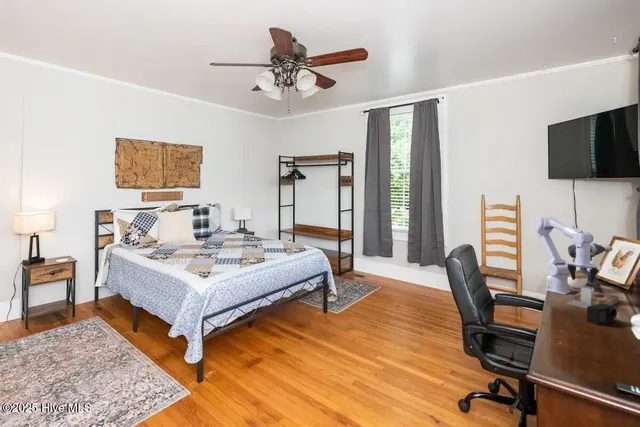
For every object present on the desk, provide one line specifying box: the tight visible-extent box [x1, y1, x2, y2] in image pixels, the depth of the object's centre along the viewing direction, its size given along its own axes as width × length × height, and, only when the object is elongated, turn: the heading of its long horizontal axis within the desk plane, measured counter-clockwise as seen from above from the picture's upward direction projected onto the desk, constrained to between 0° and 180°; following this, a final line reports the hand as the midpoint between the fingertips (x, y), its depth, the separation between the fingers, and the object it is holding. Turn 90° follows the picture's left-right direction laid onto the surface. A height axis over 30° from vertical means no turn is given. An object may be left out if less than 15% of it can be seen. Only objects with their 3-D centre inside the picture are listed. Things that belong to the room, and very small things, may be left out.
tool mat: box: [565, 299, 597, 310], centre depth 158 cm, size 14×10×1 cm
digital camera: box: [586, 304, 618, 326], centre depth 138 cm, size 10×5×7 cm, turn 108°
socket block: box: [574, 291, 620, 306], centre depth 166 cm, size 14×14×2 cm
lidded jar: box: [568, 270, 588, 289], centre depth 189 cm, size 11×11×9 cm
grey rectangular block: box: [580, 285, 595, 306], centre depth 158 cm, size 4×4×9 cm
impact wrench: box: [567, 242, 613, 286], centre depth 194 cm, size 8×23×25 cm, turn 78°
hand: (582, 281), depth 167 cm, fingers open, 7 cm apart
